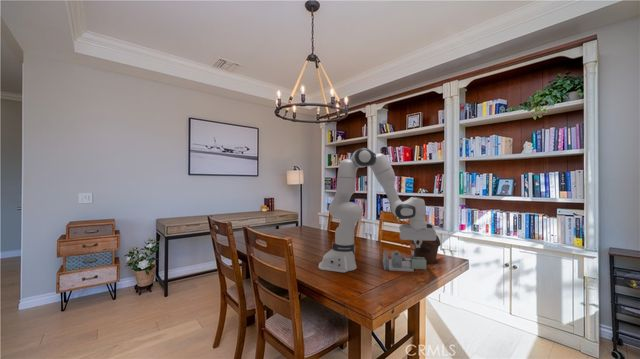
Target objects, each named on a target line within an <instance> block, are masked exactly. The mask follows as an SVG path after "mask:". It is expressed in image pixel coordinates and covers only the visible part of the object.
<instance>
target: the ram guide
mask: <svg viewBox="0 0 640 359" xmlns="http://www.w3.org/2000/svg"><path fill="white" fill-rule="evenodd" d="M409 258H411V256H410V257H409ZM414 258H415V259H412V261H410V263H411V265H412V267H413V269H414V270H427V263H426V260H425V258H424V257H414Z"/></svg>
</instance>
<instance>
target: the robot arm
mask: <svg viewBox="0 0 640 359" xmlns="http://www.w3.org/2000/svg"><path fill="white" fill-rule="evenodd" d="M365 167H369V168H370V169H371V170H372V171H373V172H372V173H373V174H374V177H375V178H376V180H377V181H378V183H379V185H380V186H381V187H382V189H383V191H384V192H385V195H386V197H387V199H388V202H389V207H390V208H389V209H390V212H391V214H392V215H393V216H394V217H395V218H398V219H400V220H406V219H409V223H402V224H401V225H399V239H400V240H401V241H410V240H414V243H415V244H416V242H417V240H419V244H416V248H420V245H421V243H422V240H426V241H435V240H436V235H437V232H436V229H435V225H434V224H433V223H432V222H428V221H426V220H427V219H426V215H425V214H426V203H425V200H424V199H423V198H422V197H417V196H411V197H409V198H408V199H406V200H404V201H402V200H401V199H400V197H399V194H398V193H397V190H396V188H395V181H396V178H397V177H396V174H395V171H394V169H393V167H392V165H391V163H390V161H389V159H388V158H387V157H386V155H385V154H384V153H379V152H378V153H377V152H376V153H375V152H373V151H372V150H371V149H369V148H367V147H360V148H358V149H356V150H355V151H354V152H353V153H352V155H351V156H350V157H349V158H345V159H342V160H341V161H339V165H338V170H337V178H336V189H335V190H336V191H335V194H334V196H333V197H334V198H333V199H332V201H331V202H330V203H329V205H328V213H329V215H330V216H332V218H333V217H334V218H335V219H339V225H338V226H337V227H336V229H335V230H334V232H335V233H334V238H335V239H334V240H335V241H332V242H331V249H330V250H329V251H327V252H326V253H324V255H323V257H322V260H321V261H320V262H319V263H318V266H317V267H318V269H319V270H322V271H329V272H336V273H337V272H338V273H347V272H351V271H354V270H356V269H357V263H356V258H355V253H356V245H355V244H356V243H355V229H356V225H357V224H358V221H359V220H360V219H361V218H362V216H363V209H362V207H361V205H359V204H357V203H355V202H353V201H350V200H351V197H352V195H353V194H354V193H356V184H357V182H356V181H357V171H358V169H360V168H365Z"/></svg>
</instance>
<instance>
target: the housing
mask: <svg viewBox="0 0 640 359" xmlns="http://www.w3.org/2000/svg"><path fill="white" fill-rule="evenodd" d="M402 258H403V255H402V252H400V251H399V250H395V251H391V259H392V264H393V265H395V266H402Z"/></svg>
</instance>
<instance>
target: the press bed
mask: <svg viewBox="0 0 640 359" xmlns="http://www.w3.org/2000/svg"><path fill="white" fill-rule="evenodd" d="M382 256H383V258H382V265H383V269H384V271H397V272H398V271H399V272H400V271H401V272H414V270H415V269H413V267H412V265H411V263H410V261H402V266H395V265H393V264H392V258H389V256H388V252H387V251H383V254H382Z"/></svg>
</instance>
